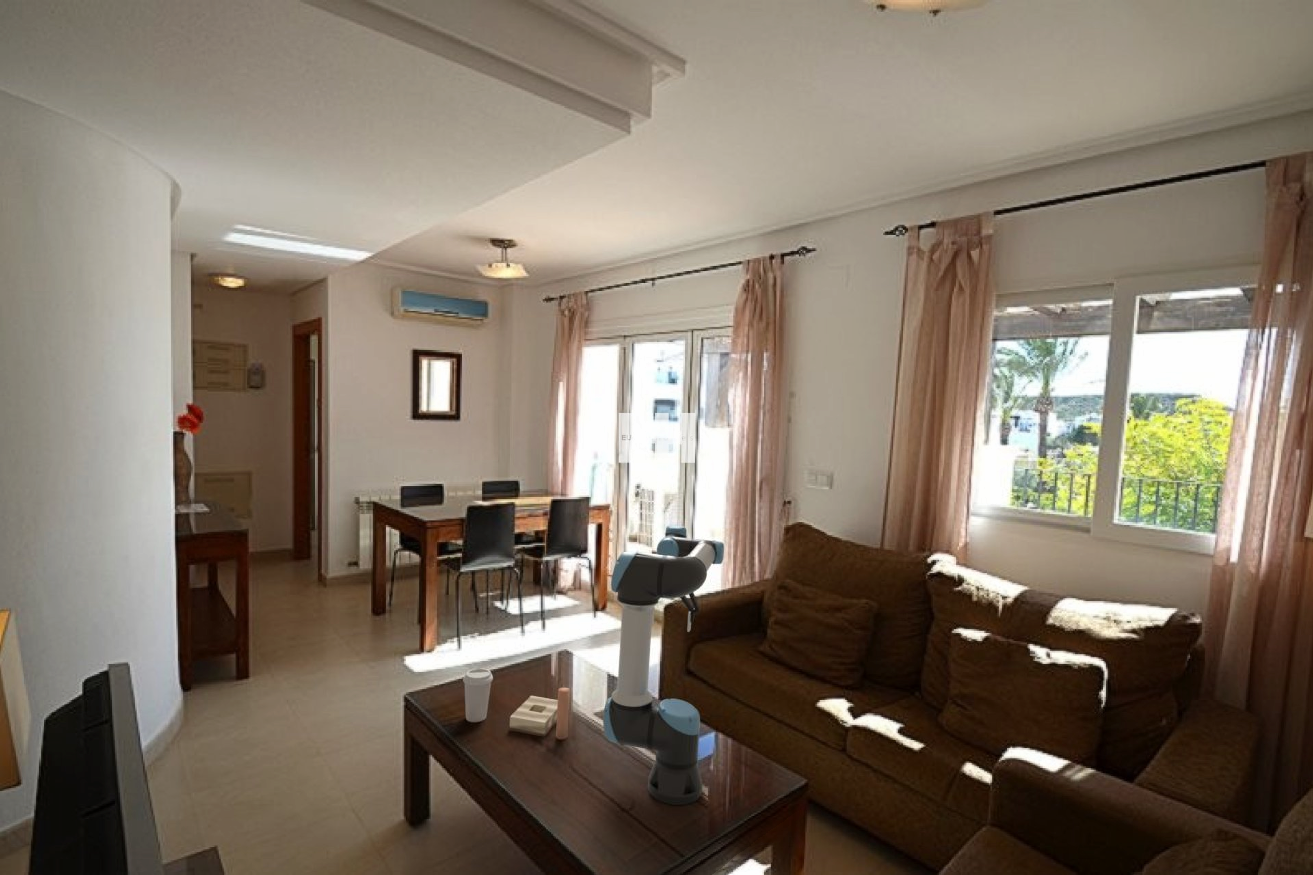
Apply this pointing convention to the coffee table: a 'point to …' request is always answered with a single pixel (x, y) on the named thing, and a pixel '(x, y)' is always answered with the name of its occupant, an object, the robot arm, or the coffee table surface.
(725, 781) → the coffee table surface
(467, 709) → the coffee cup
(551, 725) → the bore block
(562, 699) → the pin
